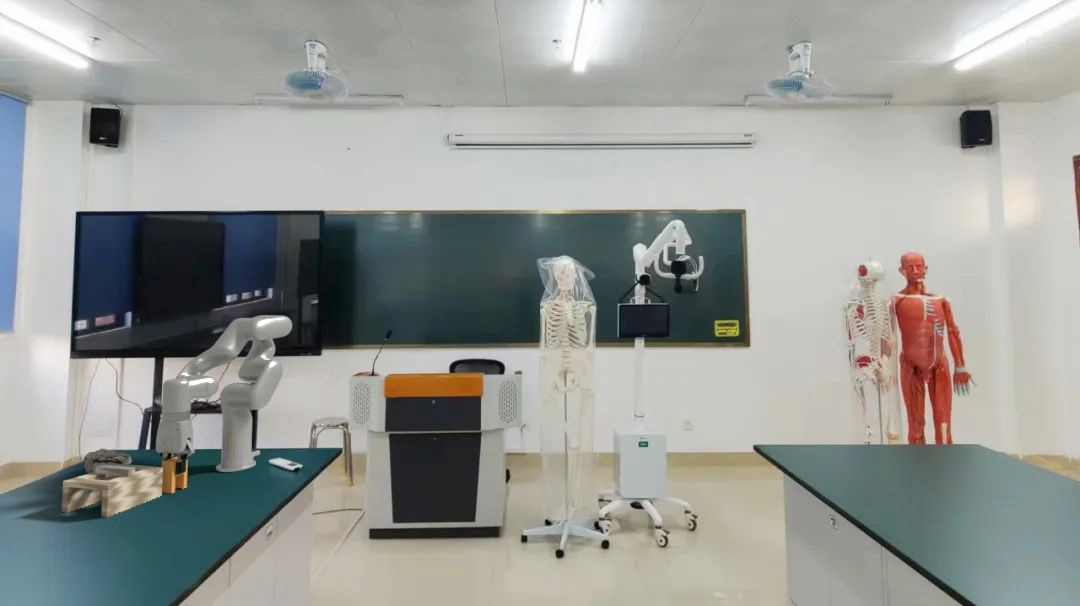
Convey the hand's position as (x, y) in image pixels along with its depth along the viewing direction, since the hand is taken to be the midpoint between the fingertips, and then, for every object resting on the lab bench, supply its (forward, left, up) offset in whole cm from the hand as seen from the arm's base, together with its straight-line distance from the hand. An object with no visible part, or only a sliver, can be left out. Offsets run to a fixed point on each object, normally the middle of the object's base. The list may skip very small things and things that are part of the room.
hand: (174, 472), depth 154 cm
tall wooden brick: (0, 0, -6) cm, 6 cm away
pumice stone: (-9, -40, -6) cm, 41 cm away
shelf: (+13, -7, -6) cm, 16 cm away
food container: (+1, -22, -6) cm, 23 cm away
